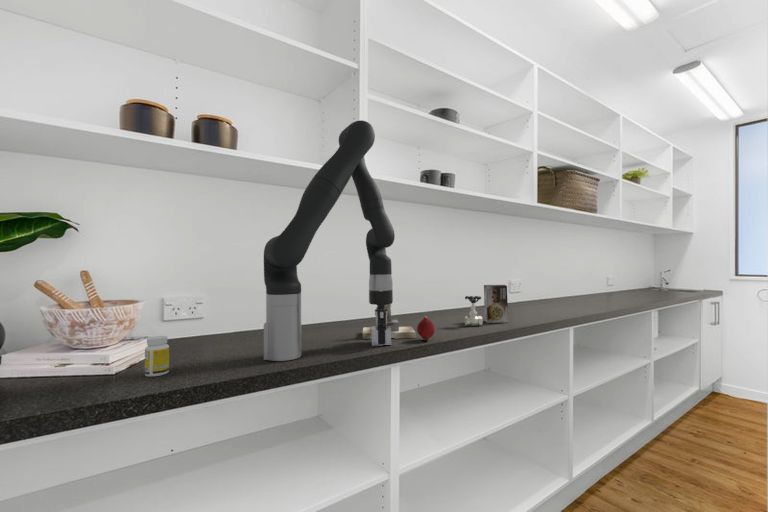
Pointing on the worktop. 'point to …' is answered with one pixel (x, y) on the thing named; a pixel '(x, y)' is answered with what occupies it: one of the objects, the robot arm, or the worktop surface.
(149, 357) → the supplement bottle
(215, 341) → the worktop surface
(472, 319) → the valve
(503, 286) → the coffee box
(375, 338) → the block
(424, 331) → the onion
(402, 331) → the shaft stand
